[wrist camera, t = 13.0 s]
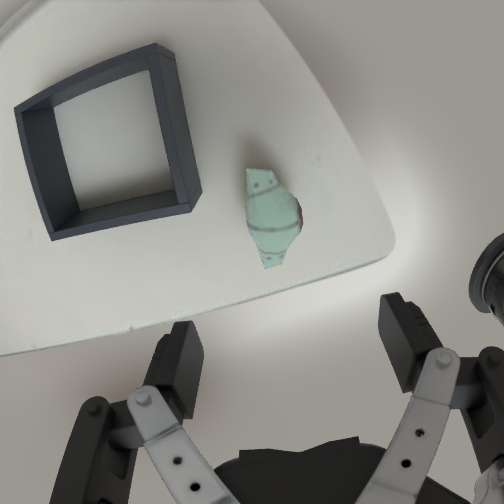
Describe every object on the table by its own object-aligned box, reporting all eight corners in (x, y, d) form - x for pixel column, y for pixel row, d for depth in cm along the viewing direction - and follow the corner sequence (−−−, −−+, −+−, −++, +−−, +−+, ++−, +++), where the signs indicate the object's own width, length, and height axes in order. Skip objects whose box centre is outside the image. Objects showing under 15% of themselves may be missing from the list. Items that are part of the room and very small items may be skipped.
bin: (174, 52, 20) (155, 42, 16) (202, 192, 26) (191, 212, 22) (45, 103, 22) (13, 107, 17) (76, 220, 27) (51, 241, 23)
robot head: (239, 158, 25) (234, 176, 19) (288, 150, 24) (299, 166, 18) (255, 244, 28) (255, 284, 22) (299, 237, 28) (311, 276, 22)
